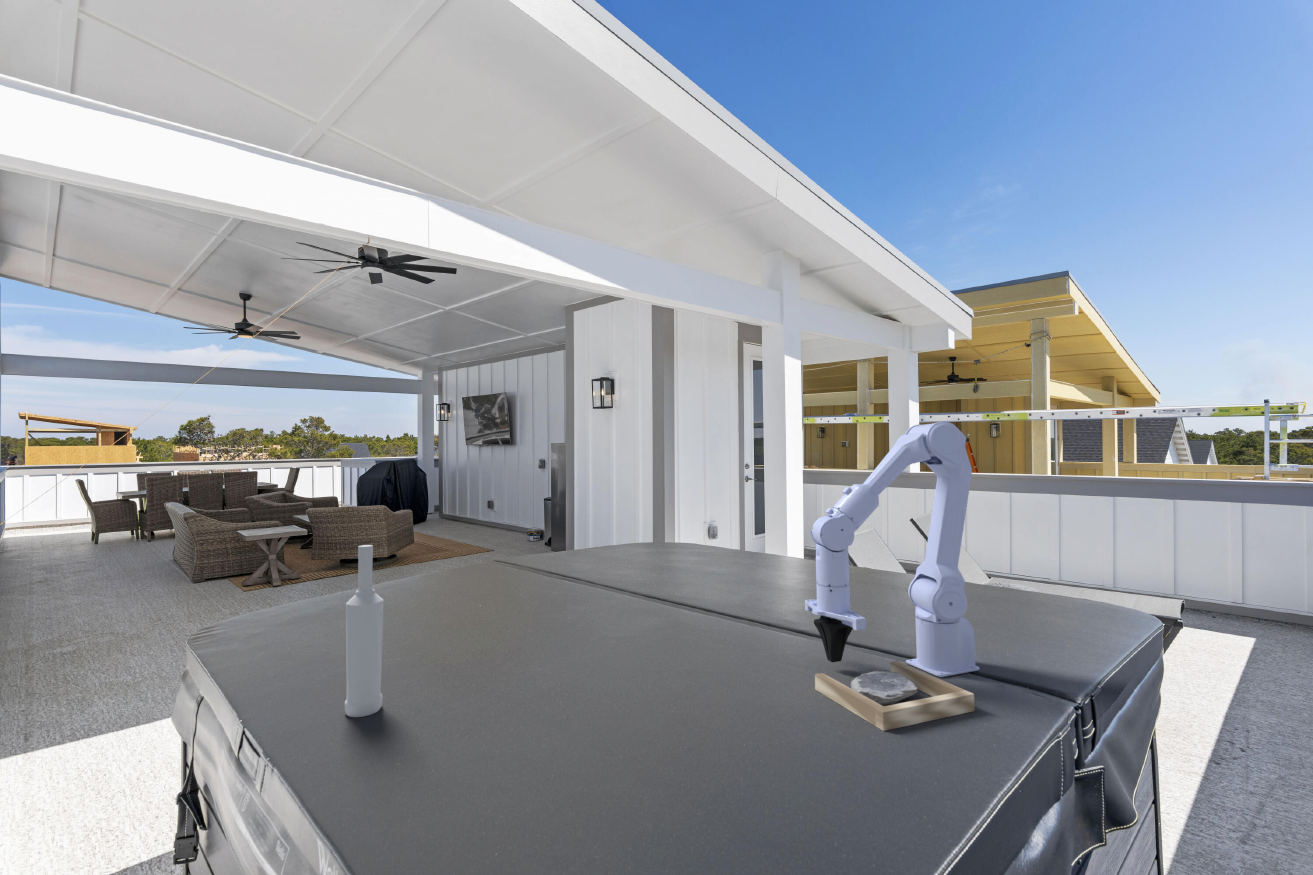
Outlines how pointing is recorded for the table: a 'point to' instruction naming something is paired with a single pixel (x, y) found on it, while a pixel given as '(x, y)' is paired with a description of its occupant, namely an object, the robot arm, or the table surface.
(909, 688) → the fossil
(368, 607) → the bottle
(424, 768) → the table surface
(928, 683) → the bay
